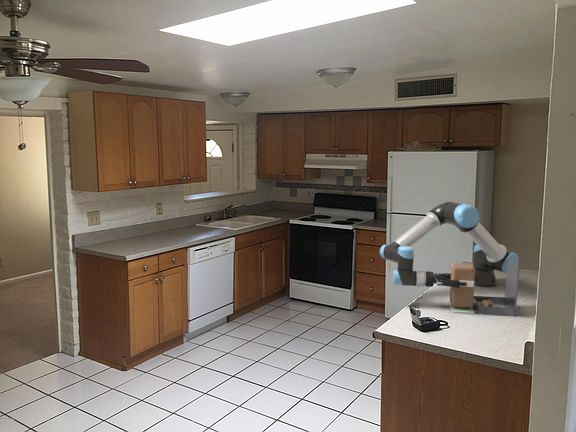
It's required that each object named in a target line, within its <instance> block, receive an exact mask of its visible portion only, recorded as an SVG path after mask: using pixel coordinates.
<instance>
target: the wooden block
mask: <svg viewBox="0 0 576 432" xmlns="http://www.w3.org/2000/svg"><path fill="white" fill-rule="evenodd" d="M450 266H451V267H450V273H451V280H455V281H474V282H475V268H474V267H473V263H464V262H463V263H460V262H453V263H451V264H450ZM474 296H475V286H474V287H462V286H460V288H457V287H449V301H450V302H451V304H452V306H453V307H469V308H471V307H472V308H474V307H473V300H474Z"/></svg>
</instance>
